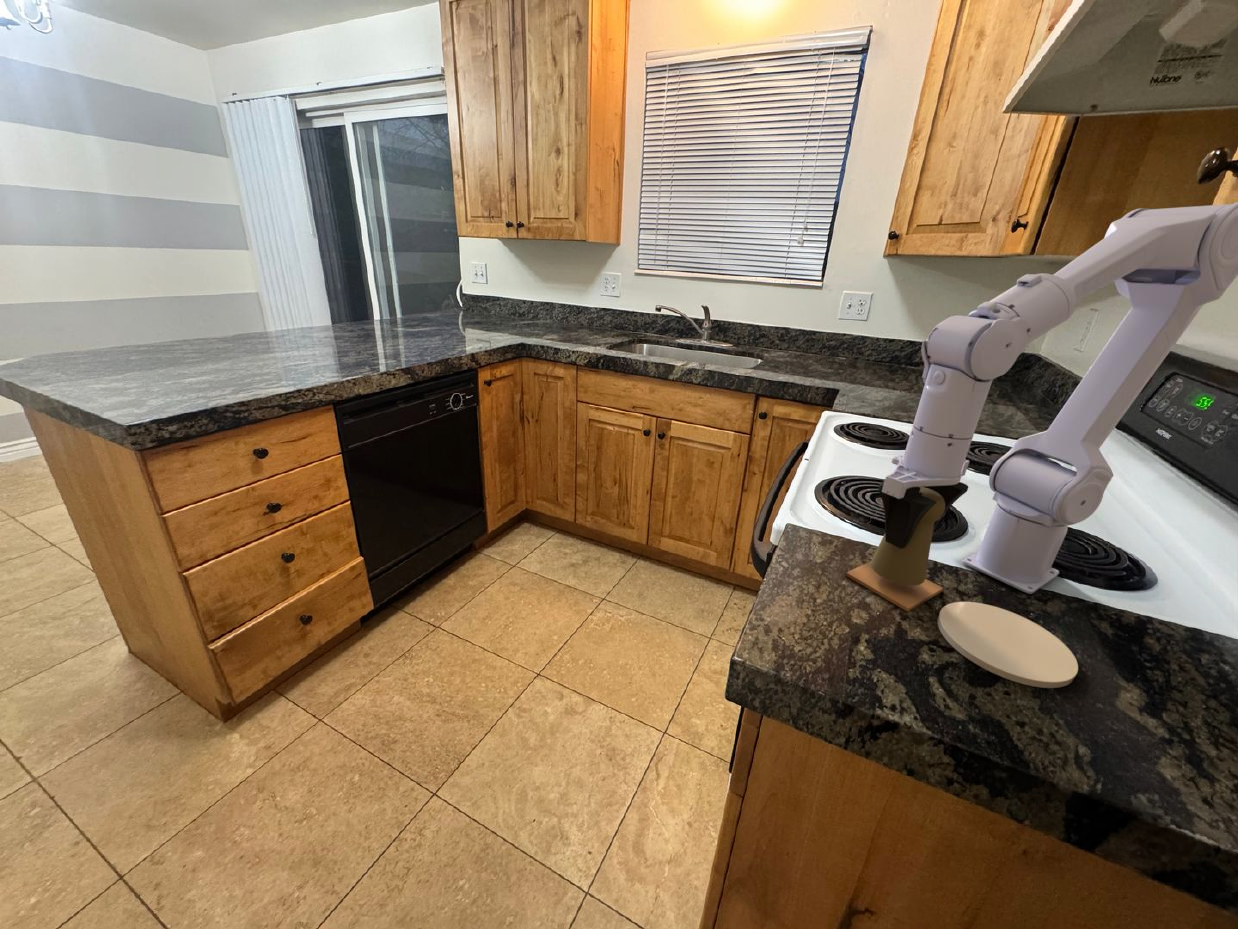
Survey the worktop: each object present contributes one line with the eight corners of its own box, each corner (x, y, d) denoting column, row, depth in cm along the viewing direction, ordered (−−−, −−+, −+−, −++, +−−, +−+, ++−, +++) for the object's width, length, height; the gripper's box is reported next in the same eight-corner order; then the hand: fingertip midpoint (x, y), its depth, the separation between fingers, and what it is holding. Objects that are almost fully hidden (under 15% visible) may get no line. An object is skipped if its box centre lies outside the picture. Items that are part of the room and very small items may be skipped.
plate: (967, 595, 60) (969, 590, 60) (1093, 659, 51) (1096, 653, 51) (915, 628, 54) (917, 622, 54) (1048, 707, 45) (1051, 701, 45)
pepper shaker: (932, 589, 58) (962, 505, 54) (877, 581, 59) (903, 497, 55) (915, 561, 63) (941, 483, 59) (865, 554, 64) (887, 476, 60)
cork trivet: (880, 559, 67) (881, 556, 67) (942, 591, 61) (943, 588, 61) (845, 575, 63) (846, 572, 63) (907, 612, 57) (908, 608, 56)
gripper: (937, 413, 61) (907, 511, 66) (870, 428, 54) (841, 537, 59) (1002, 430, 56) (963, 535, 61) (937, 449, 48) (899, 567, 53)
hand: (907, 538), depth 59 cm, fingers closed on pepper shaker, 5 cm apart
